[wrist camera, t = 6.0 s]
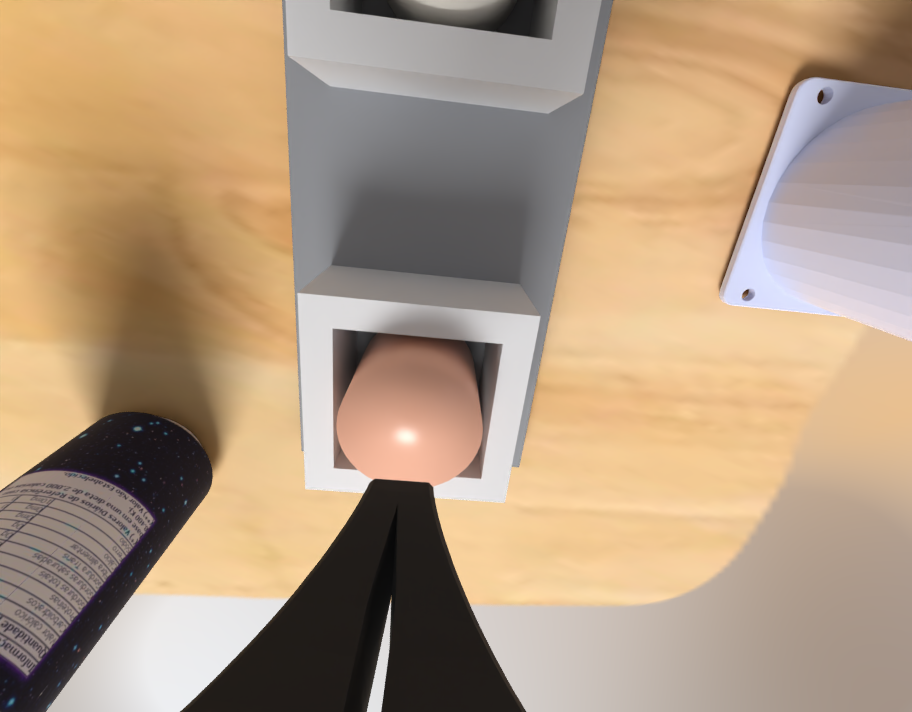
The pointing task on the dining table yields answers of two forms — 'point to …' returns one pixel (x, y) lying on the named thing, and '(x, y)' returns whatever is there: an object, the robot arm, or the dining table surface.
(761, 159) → the dining table surface
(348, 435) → the terracotta plug
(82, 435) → the beverage can
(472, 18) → the cream plug
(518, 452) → the plug panel
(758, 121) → the dining table surface
